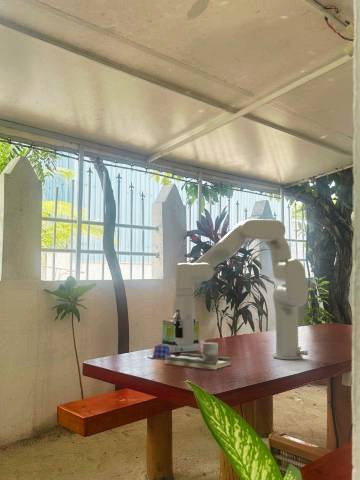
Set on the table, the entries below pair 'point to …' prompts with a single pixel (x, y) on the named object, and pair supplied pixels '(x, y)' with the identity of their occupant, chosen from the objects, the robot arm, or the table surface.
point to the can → (186, 332)
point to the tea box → (169, 337)
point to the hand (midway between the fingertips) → (184, 336)
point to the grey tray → (201, 358)
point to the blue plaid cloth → (161, 352)
